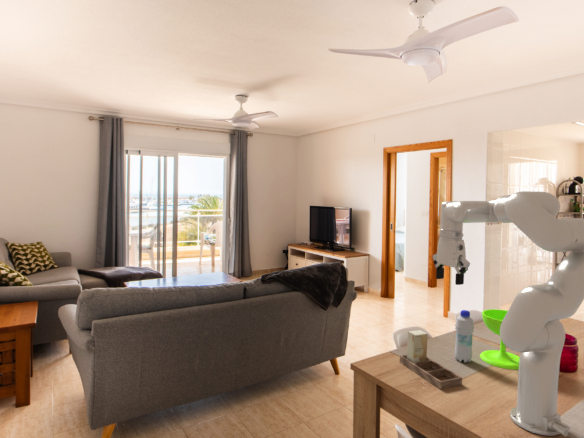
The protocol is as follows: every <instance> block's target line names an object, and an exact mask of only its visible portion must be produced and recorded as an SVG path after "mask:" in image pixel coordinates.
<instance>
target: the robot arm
mask: <svg viewBox="0 0 584 438" xmlns="http://www.w3.org/2000/svg"><path fill="white" fill-rule="evenodd" d="M560 209H561V203H560V201H559V199H558V197H557V196H556V195H554V194H553V193H550V192H546V191H526V190H525V191H518V192H515V193H513V194H506V195H505V194H504V195H501V196H499V197H497V199H495V200H494V199H493V200H459V201H456V200H455V201H454V200H453V201H452V200H446V201H443V202H441V205H440V219H439V220H440V224H439V226H440V227H439V228H440V229H439V239H438V243H437V249H436V250H437V251H436V253H434V254H433V255H432V260H433V264H434V267H435V279H436V280H441V279H442V280H443V279H444V278H445V267H444V266H446V267H450V268H454V269H455V271H456V273H455V279H454V280H455V285H457V286H459V285H464V284H465V283H464V282H465V274H466V273H467V271H469V268H470V265H471V263H470V261H469V260H467V259H466V258H467V257H466V256H467V255H466V253H467V252H466V245H465V243H466V242H465V240H464V239H463V237H464V233H463V230H464V229H463V226H464V224H470V223H472V224H474V223H476V224H477V223H503V224H511V223H513V224H514V225H515V226H516V227H517V229H519V230H520V231H521V232H522V233H523V234H524V235H525V236H526V237H527V238H528V239H530V241H531V242H532V243H534V245H536V246H538V247H539V248H540V249H542V250H543V251H547V252H550V253H560V252H561V253H564V252H568V255H566V256H565V257H564V259H563V260H561V261H560V263H558V265H557V266H556V267H555V269H554V272H553V273H552V275H550V277H549V279H548V280H547V281H546V282H544V283H542V284H533V285H528V286H526V287H524V288H522V290H520V291H519V292H518V293H517V294H516V296H515V298H513V301H512V303H511V304H510V306H509V309H508V310H507V311H508V312H507V314H506V315H505V317H504V319H503V321H502V323H501V327H500V335H499V336H500V340H501V339H502V342H503V343H504V345H505V346H506V349H509V350H510V351H512V352H515V353H519V357H520V358H519V369H518V373H517V374H518V377H517V392H516V393H517V396H516V397H517V398H516V406H515V407H513V408H512V409H511V410H510V412H509V413H510V414H509V415H510V419H511V420H512V422H513V423H515V424H516V425H517V426H519V428H522V429H523V430H526V431H529V432H530V433H533V434H536V435H541V436H549V437H551V436H552V437H555V436H557V435H562V436H564V437H568V436H569V433H570V432H569V431H570V425H568V424H567V423H564V422H562V420H561V414H560V413H558V398H559V397H558V396H559V395H558V393H559V392H558V391H559V378H560V377H559V376H560V366H561V365H560V364H561V357H562V352H563V348H564V345H565V341H566V330H565V326H564V325H563V323H562V322H561V320H564V319H568V318H569V319H570V318H571V317H573V316H574V315H575V313H576V312H577V311H578V310H579V308H580V306H581V305H582V304H583V302H584V217H583V218H582V217H579V218H578V217H568V218H563V217H562V218H556V216H557V215H558V214H559V213H560V211H561V210H560Z"/></svg>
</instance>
